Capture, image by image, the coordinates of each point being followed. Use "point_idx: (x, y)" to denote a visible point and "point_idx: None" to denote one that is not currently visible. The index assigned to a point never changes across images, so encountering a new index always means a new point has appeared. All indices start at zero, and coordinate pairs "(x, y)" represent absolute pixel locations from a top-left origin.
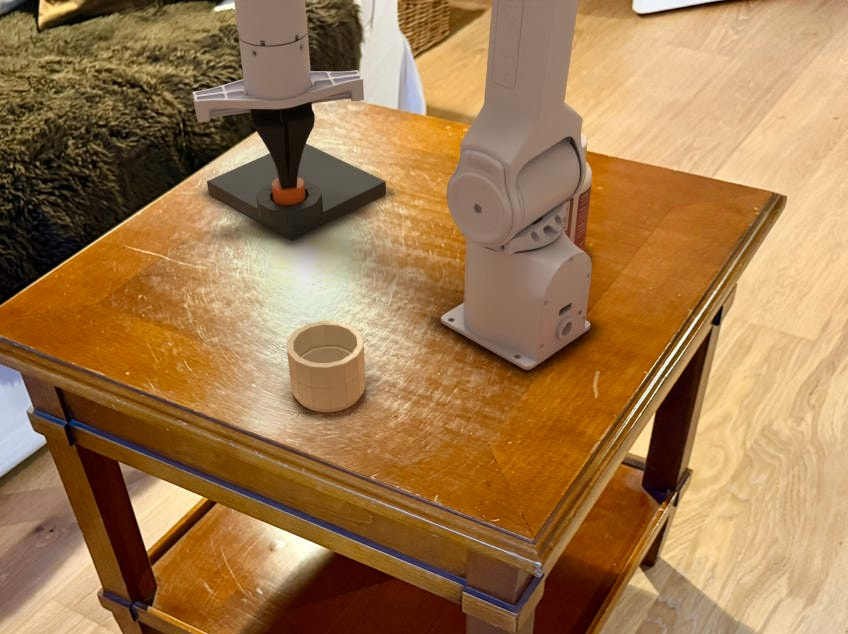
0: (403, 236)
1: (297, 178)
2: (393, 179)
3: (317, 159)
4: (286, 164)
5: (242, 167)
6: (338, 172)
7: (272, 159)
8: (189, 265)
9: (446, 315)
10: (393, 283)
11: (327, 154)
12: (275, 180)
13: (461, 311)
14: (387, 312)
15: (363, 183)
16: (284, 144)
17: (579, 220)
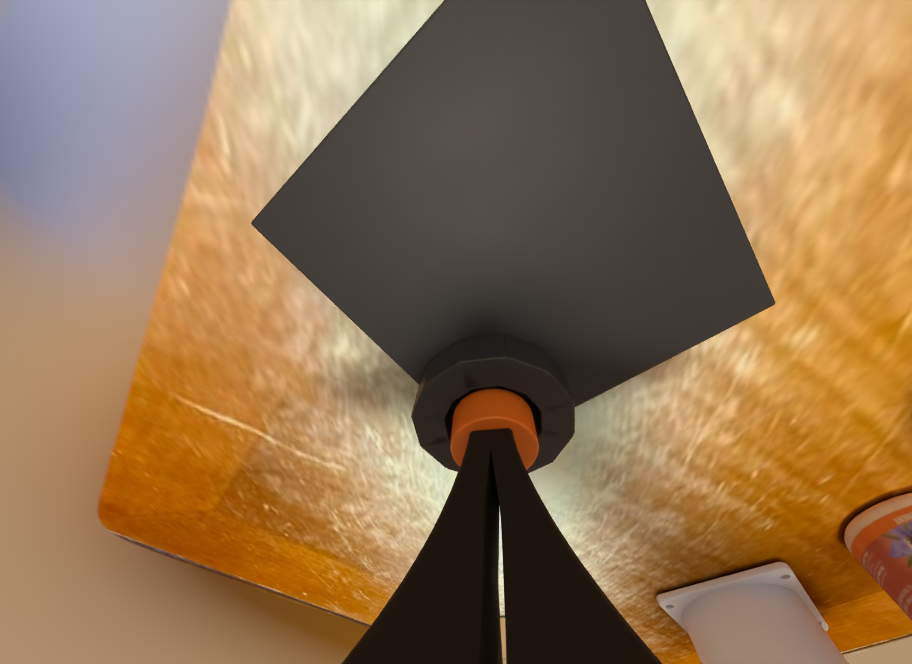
0: (698, 443)
1: (522, 434)
2: (814, 205)
3: (615, 115)
4: (498, 557)
5: (342, 140)
6: (659, 229)
7: (446, 85)
8: (314, 459)
9: (667, 601)
10: (627, 533)
11: (666, 67)
12: (460, 433)
13: (689, 600)
14: (597, 570)
15: (707, 309)
16: (502, 662)
17: None
